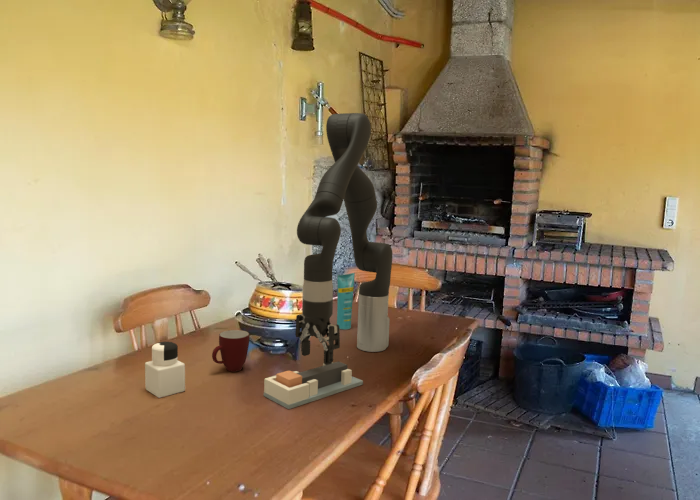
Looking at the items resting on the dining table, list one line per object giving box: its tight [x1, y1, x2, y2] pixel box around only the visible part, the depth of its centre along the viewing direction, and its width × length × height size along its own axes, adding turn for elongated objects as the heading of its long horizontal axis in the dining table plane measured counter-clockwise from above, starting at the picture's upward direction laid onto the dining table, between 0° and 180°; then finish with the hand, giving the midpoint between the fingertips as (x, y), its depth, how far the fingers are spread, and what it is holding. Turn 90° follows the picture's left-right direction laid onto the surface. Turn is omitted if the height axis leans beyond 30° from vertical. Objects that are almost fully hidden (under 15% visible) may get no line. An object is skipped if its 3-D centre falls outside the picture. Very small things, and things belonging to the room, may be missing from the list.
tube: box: [336, 272, 356, 330], centre depth 205 cm, size 7×5×19 cm, turn 134°
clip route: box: [263, 362, 364, 410], centre depth 150 cm, size 24×10×4 cm, turn 134°
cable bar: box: [275, 360, 349, 389], centre depth 150 cm, size 20×5×5 cm, turn 134°
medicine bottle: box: [144, 341, 186, 399], centre depth 146 cm, size 7×7×12 cm
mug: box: [211, 329, 250, 373], centre depth 161 cm, size 10×8×10 cm
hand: (316, 359), depth 149 cm, fingers open, 8 cm apart
